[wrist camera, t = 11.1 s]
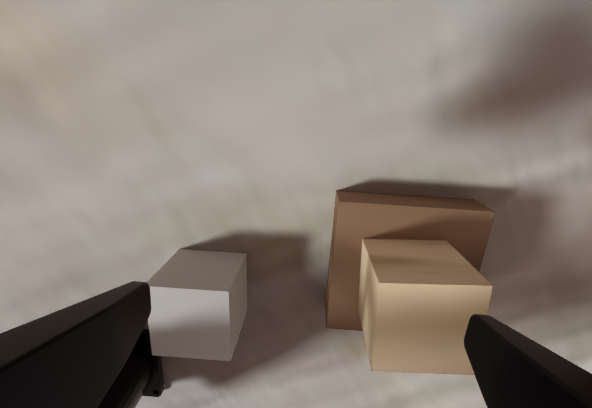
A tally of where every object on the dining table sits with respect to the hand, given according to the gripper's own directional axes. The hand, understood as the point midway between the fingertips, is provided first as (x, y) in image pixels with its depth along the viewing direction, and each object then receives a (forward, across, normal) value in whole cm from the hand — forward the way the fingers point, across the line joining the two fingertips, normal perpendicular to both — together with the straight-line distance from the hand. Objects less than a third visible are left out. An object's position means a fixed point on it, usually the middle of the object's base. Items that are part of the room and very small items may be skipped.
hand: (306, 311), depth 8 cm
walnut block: (+13, -6, +4) cm, 15 cm away
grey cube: (+13, +7, +7) cm, 16 cm away
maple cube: (+10, -6, +4) cm, 13 cm away
